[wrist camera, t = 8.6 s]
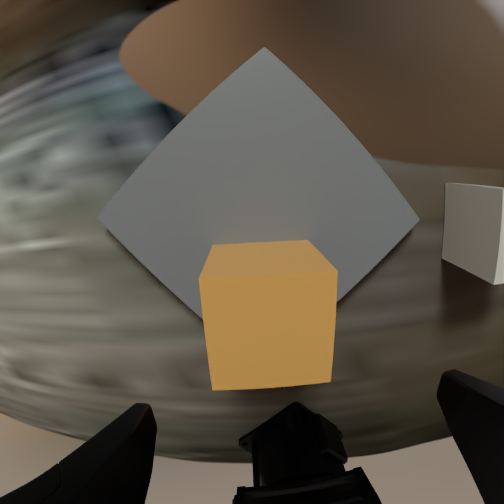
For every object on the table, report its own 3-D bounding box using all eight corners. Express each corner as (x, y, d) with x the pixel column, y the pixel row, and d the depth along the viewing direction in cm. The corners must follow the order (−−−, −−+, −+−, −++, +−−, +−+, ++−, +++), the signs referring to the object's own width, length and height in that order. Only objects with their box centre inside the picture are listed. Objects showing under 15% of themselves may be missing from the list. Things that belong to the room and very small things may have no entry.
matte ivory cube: (489, 254, 20) (540, 276, 14) (441, 258, 20) (493, 285, 14) (494, 186, 19) (549, 194, 13) (445, 182, 19) (502, 189, 13)
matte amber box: (307, 325, 19) (330, 381, 13) (220, 330, 19) (212, 390, 13) (307, 239, 18) (337, 270, 12) (212, 244, 18) (198, 278, 12)
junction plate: (259, 358, 21) (263, 401, 17) (104, 215, 18) (68, 227, 14) (410, 217, 19) (451, 229, 14) (263, 54, 16) (269, 20, 12)
